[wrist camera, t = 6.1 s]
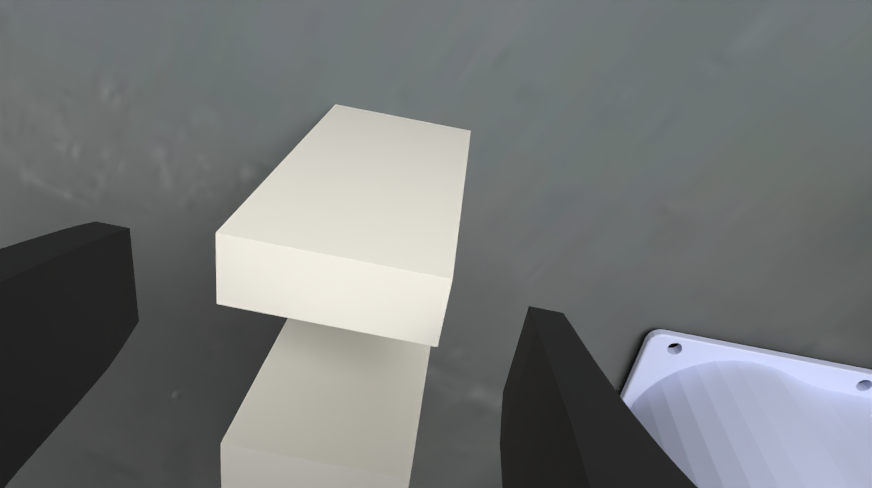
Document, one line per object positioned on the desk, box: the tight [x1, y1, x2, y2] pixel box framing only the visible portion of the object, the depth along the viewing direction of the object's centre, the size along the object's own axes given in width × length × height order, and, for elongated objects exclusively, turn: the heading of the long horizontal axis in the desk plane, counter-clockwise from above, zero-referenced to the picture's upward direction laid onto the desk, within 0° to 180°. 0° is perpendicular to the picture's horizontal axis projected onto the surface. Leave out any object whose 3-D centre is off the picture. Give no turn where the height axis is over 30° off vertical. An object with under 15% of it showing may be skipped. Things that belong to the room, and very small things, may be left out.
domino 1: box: [216, 104, 471, 347], centre depth 15 cm, size 4×2×9 cm, turn 80°
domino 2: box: [221, 318, 430, 488], centre depth 18 cm, size 4×2×9 cm, turn 80°
